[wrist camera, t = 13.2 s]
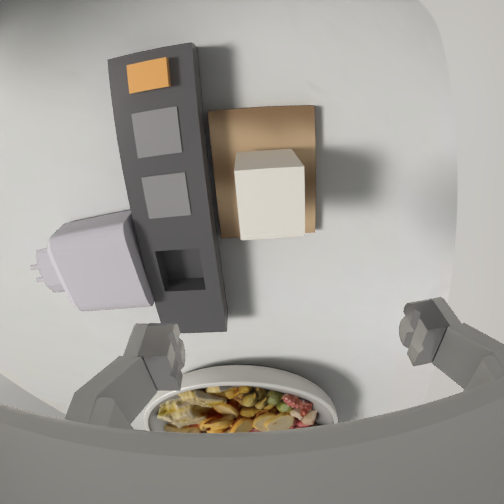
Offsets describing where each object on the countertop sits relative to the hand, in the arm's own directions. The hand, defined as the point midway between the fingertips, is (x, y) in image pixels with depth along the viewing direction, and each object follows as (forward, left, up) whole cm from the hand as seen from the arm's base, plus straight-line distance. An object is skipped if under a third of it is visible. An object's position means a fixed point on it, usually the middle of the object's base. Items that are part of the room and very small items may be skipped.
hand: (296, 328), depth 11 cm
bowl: (+38, -5, -21) cm, 44 cm away
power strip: (+2, -8, -20) cm, 22 cm away
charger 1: (+7, -20, -21) cm, 29 cm away
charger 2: (0, 0, -19) cm, 19 cm away
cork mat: (0, 0, -20) cm, 20 cm away
